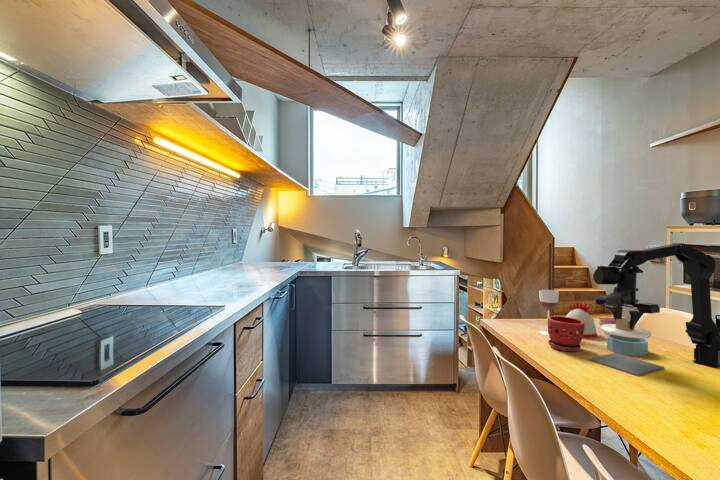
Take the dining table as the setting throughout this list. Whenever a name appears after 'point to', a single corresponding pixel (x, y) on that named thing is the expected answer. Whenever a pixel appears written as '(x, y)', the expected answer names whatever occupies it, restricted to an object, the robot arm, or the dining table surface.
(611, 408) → the dining table surface
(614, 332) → the lid
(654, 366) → the mat
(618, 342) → the bowl
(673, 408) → the dining table surface
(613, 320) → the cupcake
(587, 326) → the kitchen timer
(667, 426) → the dining table surface
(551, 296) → the wineglass
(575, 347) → the plant pot
